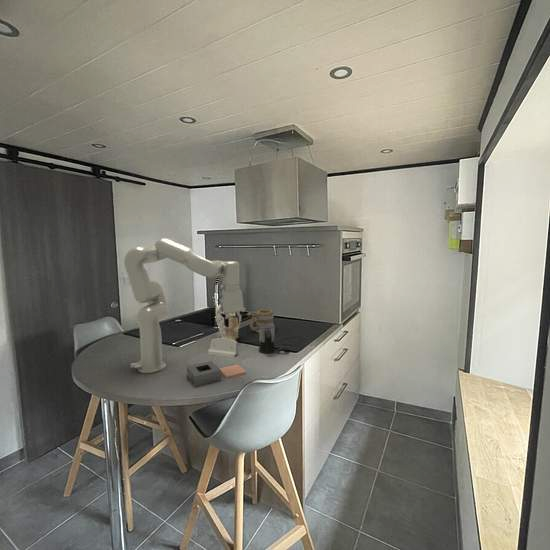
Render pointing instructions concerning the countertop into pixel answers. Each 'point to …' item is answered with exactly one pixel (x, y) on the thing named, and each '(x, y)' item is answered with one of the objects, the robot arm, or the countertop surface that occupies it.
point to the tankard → (261, 318)
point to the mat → (232, 371)
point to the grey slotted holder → (203, 373)
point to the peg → (232, 328)
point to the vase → (221, 322)
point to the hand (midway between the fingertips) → (231, 325)
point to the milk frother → (267, 339)
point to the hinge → (223, 347)
